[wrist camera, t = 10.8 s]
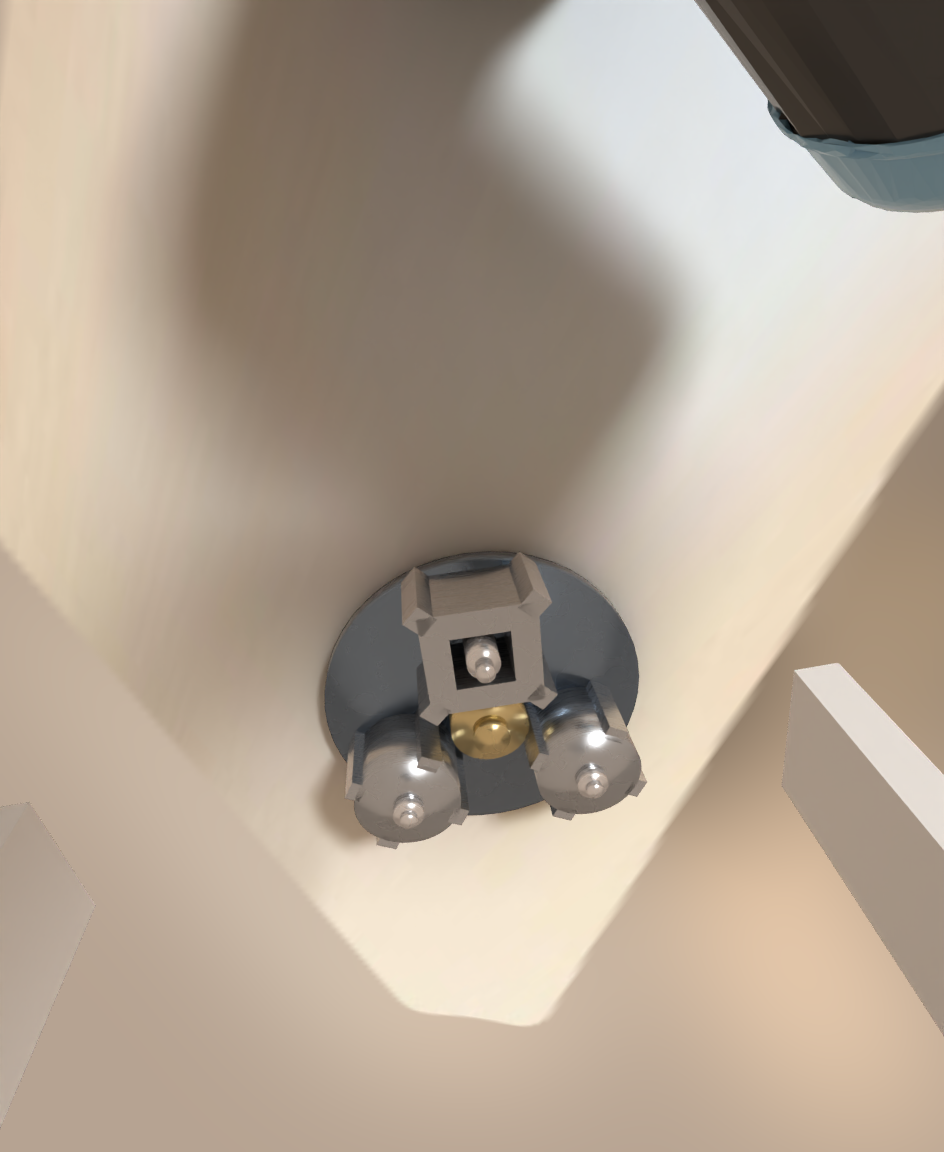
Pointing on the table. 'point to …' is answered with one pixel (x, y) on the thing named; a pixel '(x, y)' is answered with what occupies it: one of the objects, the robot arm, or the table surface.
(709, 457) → the table surface
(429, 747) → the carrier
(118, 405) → the table surface
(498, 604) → the grey square frame
